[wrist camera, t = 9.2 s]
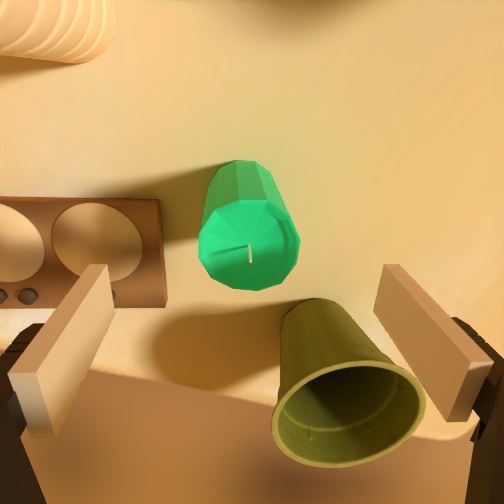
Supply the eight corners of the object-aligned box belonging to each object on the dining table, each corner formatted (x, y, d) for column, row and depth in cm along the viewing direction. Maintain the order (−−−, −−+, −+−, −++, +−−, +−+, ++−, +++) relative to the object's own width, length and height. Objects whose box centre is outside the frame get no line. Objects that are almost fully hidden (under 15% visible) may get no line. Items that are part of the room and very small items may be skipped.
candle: (291, 198, 30) (327, 265, 19) (239, 240, 31) (244, 324, 20) (246, 143, 27) (258, 184, 17) (192, 191, 29) (170, 257, 18)
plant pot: (285, 382, 39) (305, 485, 29) (239, 306, 34) (244, 400, 24) (384, 343, 38) (441, 439, 28) (351, 258, 33) (406, 337, 23)
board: (-178, 191, 27) (-208, 200, 25) (159, 198, 29) (154, 206, 27) (-121, 299, 31) (-144, 313, 30) (167, 298, 33) (163, 311, 31)
